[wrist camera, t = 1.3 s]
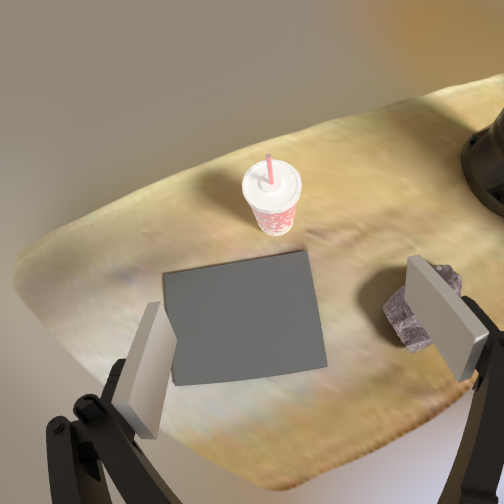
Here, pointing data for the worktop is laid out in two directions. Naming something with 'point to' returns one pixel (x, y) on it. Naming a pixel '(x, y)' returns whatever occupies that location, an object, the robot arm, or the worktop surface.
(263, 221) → the beverage cup
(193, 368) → the stop mat
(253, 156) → the worktop surface
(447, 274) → the rock
